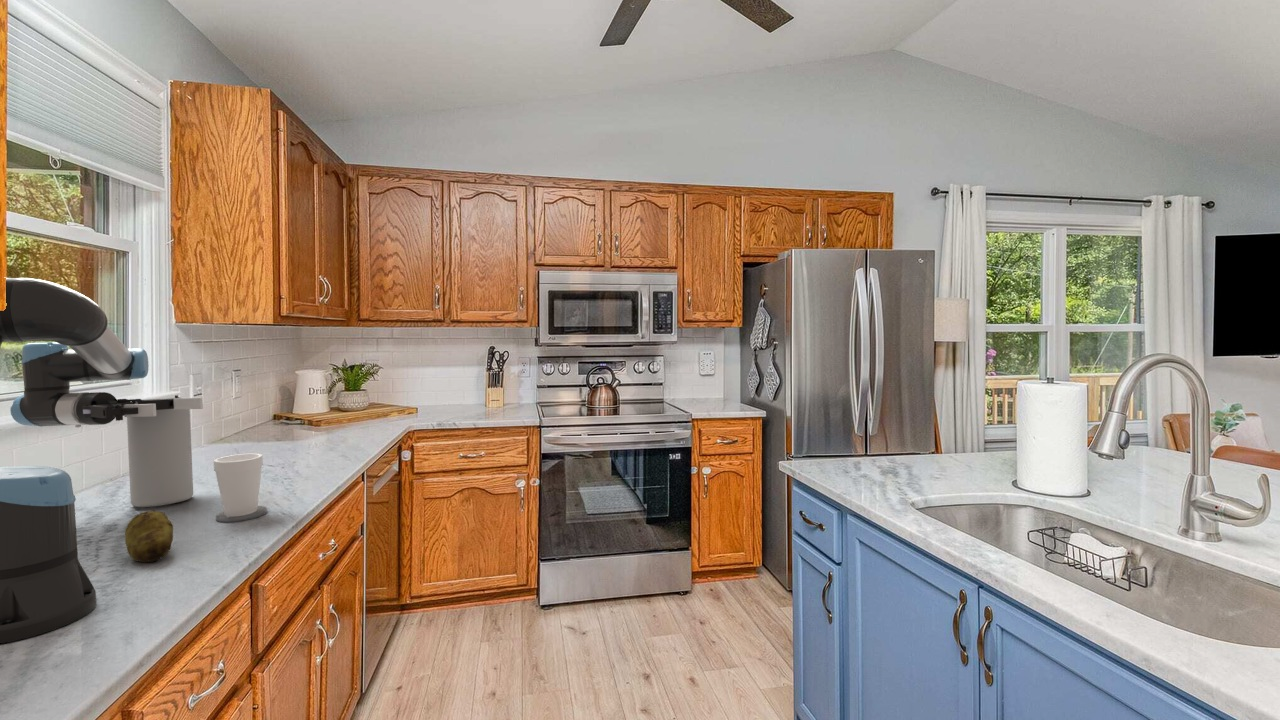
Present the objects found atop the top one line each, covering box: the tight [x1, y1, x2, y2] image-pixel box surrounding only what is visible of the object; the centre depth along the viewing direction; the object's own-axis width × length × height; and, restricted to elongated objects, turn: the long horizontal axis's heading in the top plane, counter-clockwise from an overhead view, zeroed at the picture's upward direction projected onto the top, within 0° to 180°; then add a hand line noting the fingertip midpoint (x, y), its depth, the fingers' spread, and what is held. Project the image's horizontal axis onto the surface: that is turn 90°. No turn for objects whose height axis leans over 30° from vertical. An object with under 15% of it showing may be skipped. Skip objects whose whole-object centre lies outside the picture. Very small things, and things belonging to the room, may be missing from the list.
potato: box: [124, 510, 174, 563], centre depth 115 cm, size 8×13×8 cm, turn 28°
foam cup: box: [213, 452, 264, 517], centre depth 140 cm, size 10×9×13 cm
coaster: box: [215, 505, 268, 523], centre depth 140 cm, size 10×10×1 cm
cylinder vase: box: [126, 409, 194, 508], centre depth 151 cm, size 12×12×25 cm
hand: (179, 406), depth 137 cm, fingers open, 13 cm apart
